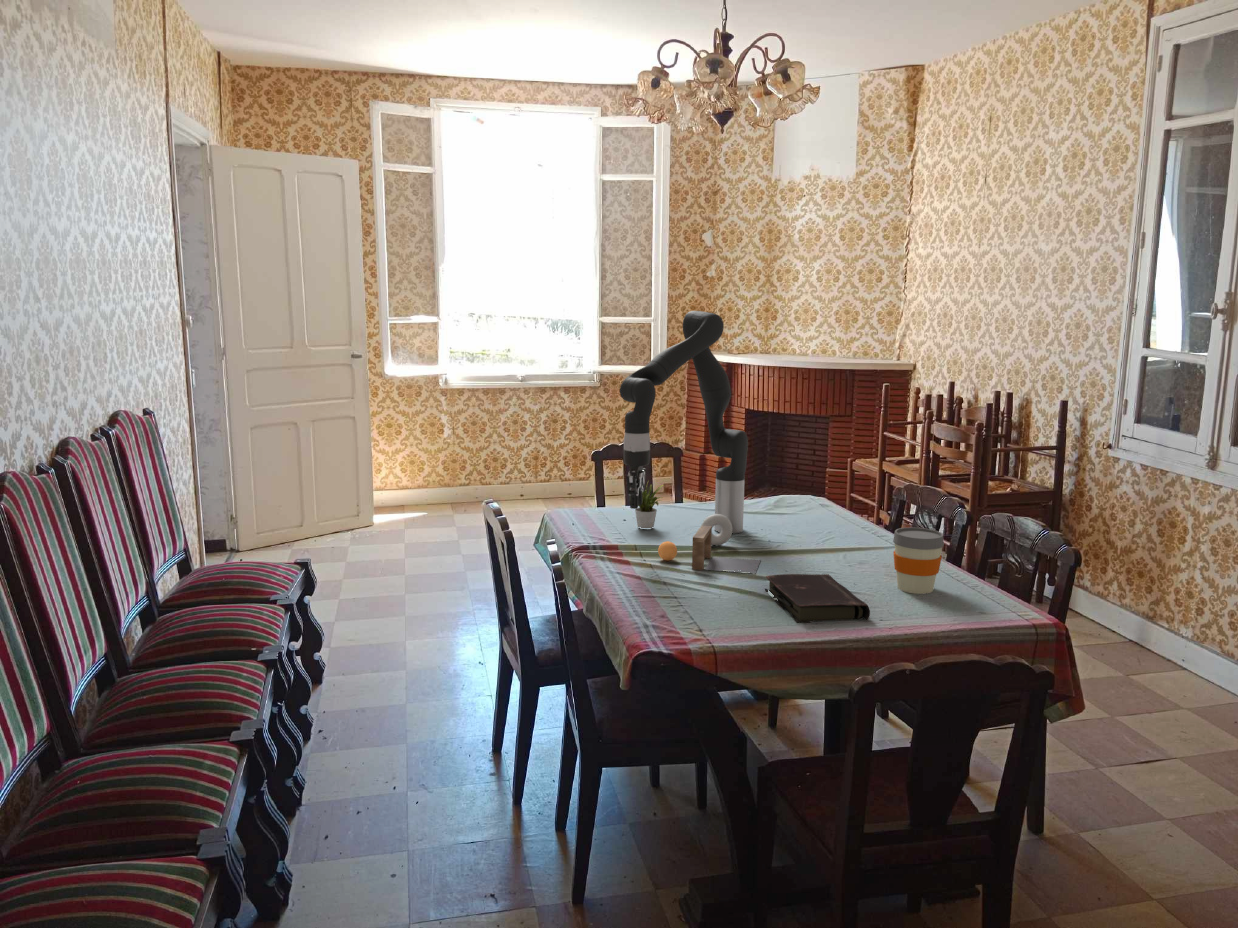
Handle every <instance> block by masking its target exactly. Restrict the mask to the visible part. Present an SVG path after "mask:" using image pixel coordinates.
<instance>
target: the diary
mask: <svg viewBox="0 0 1238 928" xmlns="http://www.w3.org/2000/svg"><path fill="white" fill-rule="evenodd" d="M765 578H766V580H768V581H769V589H767V588H764V591H765V593H766V592H768V590H769V591H770V592H771V593H772V594H773V595H774V597H773V598H777V599H778V601H777V600H775V601H774V602H775V603H776V604H777V605H778V606H779V607H780V608H781V609H782V610H783V611H785V610H786V611H787V612H789V614H790V615H791V617H792V619H793V621H794V622H795V623H796V624H809V623H810V624H811V623H812V622H825V621H827V622H828V621H830V622H831V621H848V620H854V619H855V620H860V619H861V617H862V618H863V619H864V620H865V621H868V620H869V618H870V617H871V616H870V615H871V610H870V608H869V607H870V606H869V605H868V604H867V603H866V602H864V601H863V600H861V599H860V598H859V597H857V596H856V595H855V594H853V592H852V591H850V590H849V589H848V588H847V587H845V586H843V585H842V584H841V583H839V582H838V581H837V580H835V578H834V577H832V576H831V575H829V574H827V573H826V574H825V573H824V574H823V573H822V574H819V573H818V574H809V573H807V574H806V573H802V574H801V573H792V574H791V573H789V574H788V573H787V574H786V573H784V574H774V575H771V574H770V575H766V576H765Z"/></svg>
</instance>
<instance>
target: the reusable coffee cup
mask: <svg viewBox="0 0 1238 928" xmlns="http://www.w3.org/2000/svg"><path fill="white" fill-rule="evenodd" d="M892 542H893V544H894V551H893V563H894V570H895V572H896V583H897V584H896V585H897V589H898V590H900V591H902V592H905V593H910V594H917V595H923V594H924V595H926V593H927V594H930V593H932V592H934V588H935V584H936V577H937V575H938V574H939V571H940V567H941V563H942V558H943V557H942V554H941V553H942V549H943V547H944V545H945V543H944V534H943V533H942V532H941V531H938V530H934V529H930V528H924V527H900V528H897V529H895V530H894V533H893V539H892Z"/></svg>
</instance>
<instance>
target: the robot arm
mask: <svg viewBox="0 0 1238 928" xmlns="http://www.w3.org/2000/svg"><path fill="white" fill-rule="evenodd" d="M724 325H725V324H724V321H723V319H722V317H721V316H720V315H719V314H718V313H717V314H716V313H713V312H708V311H702V310H690V311H688V312H687V313H685V315H684V317H683V320H682V332H683V336H684V339H685V340H682V341H680V342H679V343H676V344H674V345H671V346H670V347H667V348H665V349H663V350H662V351H661V352H659V353H657V355H656V356H654V357H653V359H651V360H650V361H648V363H647V364H646V365H645V366H643V367H641V368H639V369H638V370H635V371H634V372H631V374H629V375H628V376H626V378H624V379H623V381H622V383H621V384H620V387H619V394H620V395H619V396H620V397H621V399H622V400H624V401H625V402H629V403H634V408H633V410H632V411H628V412H626V413H625V416H624V436H623V464H624V465H626V466H629V471H628V472H627V473H628V474H627V475H626V485H627V487H626V489H627V490H626V491H627V495H628V496H629V500H630V501H629V508H630V509H632V510H634V509H637V508H639V506H638V505H641V504H642V492H643V491H644V489H646V474H647V466H648V465H650V463H651V436H650V418H651V414H652V410H653V407H654V403H655V400H656V395H657V394H656V392H657V391H656V388H655V386H656V387H657V386H660V385H662V384H664V383H665V382H666V381H667V380H668V379H670V377H671V376H672V375H673V374H674V373H675V372H676V371H678V369H680V368H681V367H682V366H683V365H685V364H686V363H688V362H689V361H690V360H691V359H692V362H693V366H694V370H695V374H696V377H697V381H698V386H699V390H700V395H701V398H702V402H703V406H704V409H705V414H706V420H707V426H708V432H709V439H710V446H711V450H712V452H713V454H714V455H715V456H716V457H719V458H720V457H721V458H727V459H730V464H729V465H727V466H724V467H720V468H718V469H716V472H715V496H714V497H715V501H714V502H715V504H714V506H715V507H714V514H721V515H724V516H726V517H727V518H728V519H729V520H730V522H731V524H732V529H733V530H732V533H733V534H739V533H742V532H743V531H744V510H745V509H744V507H745V506H744V505H745V476H746V471H747V459H748V451H749V438H748V435H747V433H746V432H745V431H744V430H741V429H732V428H731V429H730V428H726V427H725V424H724V417H723V416H724V414H725V412H726V409H727V408H728V406H729V403H730V401H731V398H732V389H731V385H730V381H729V376H728V374H727V372H726V370H725V369H724V367H723V365H721V363H720V362H719V360H718V359H717V358H716V356H715V355H714V354H713V352H712V351H711V349H710V347H711V346H712V345H714V344H715V343H717V342H718V341H719V340H720V338H721V337H722V335H723V332H724V330H725V329H724ZM645 467H646V468H645ZM715 530H716V531H715ZM721 530H722V529H721V526H720V525H715V526H714V531H715V532H717V531H718V532H717V533H720V532H721Z"/></svg>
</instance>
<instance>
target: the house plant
mask: <svg viewBox="0 0 1238 928" xmlns="http://www.w3.org/2000/svg"><path fill="white" fill-rule="evenodd" d="M650 480H651V479H648V481H647V482H646V485H645V490H643V492H642V504H641V505H638V508H637V509H635V510H634V511H635V518H636V525H637V528H638V527H641V528H652V527H654V528H655V522H656V518H657V512H658V511H657V508H654V505H655V504H656V505H657V506H659V502H660V501H661V499H663V498H664V497H661V496H660V497H657V496H656V494H657V493H658V492H659V490H660V489H662V487H663V486H665V485H666V484H662V485H660V486H659V487H657V488H656V490H654V491H653V492H652V490H653V489H652V487H653V485H652V484H650V485H649V486H648V483H649V481H650Z"/></svg>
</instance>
